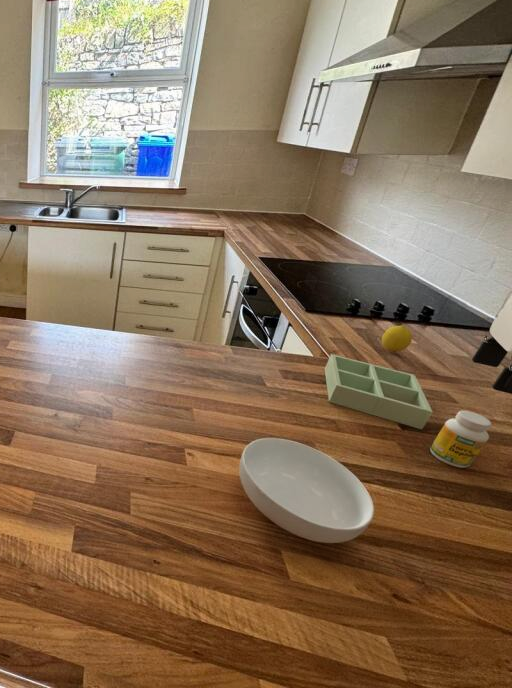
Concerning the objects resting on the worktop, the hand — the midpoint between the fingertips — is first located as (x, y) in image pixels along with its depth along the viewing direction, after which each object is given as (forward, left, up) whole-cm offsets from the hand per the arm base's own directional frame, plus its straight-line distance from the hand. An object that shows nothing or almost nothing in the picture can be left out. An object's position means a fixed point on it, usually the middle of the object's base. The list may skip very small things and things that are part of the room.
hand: (494, 377), depth 68 cm
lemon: (+1, -44, -18) cm, 47 cm away
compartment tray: (+9, -15, -18) cm, 25 cm away
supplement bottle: (-1, 0, -18) cm, 18 cm away
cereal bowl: (+24, +30, -18) cm, 43 cm away
